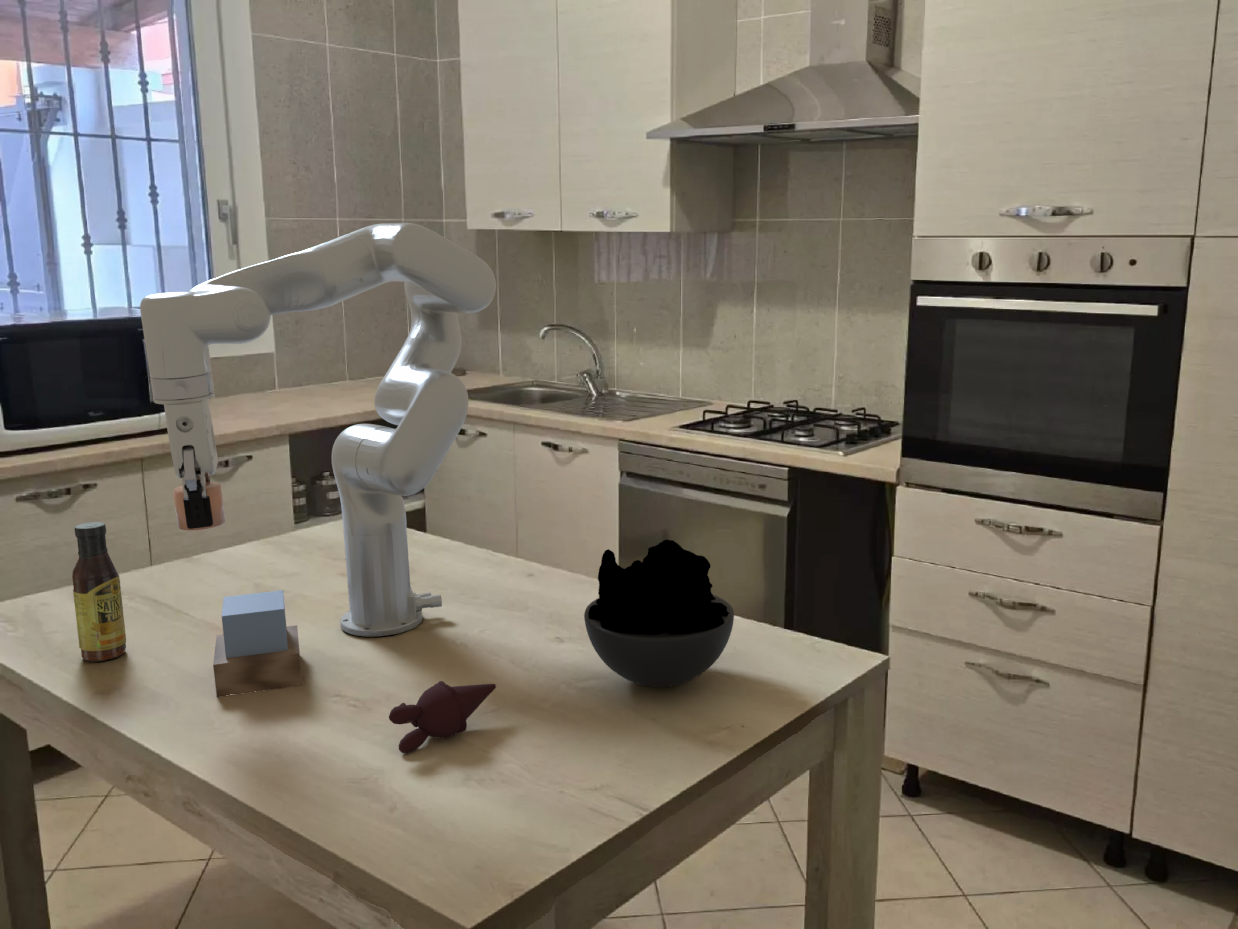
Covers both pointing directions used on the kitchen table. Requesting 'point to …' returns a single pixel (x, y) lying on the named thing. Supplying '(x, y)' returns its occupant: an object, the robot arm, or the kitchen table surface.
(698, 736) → the kitchen table surface
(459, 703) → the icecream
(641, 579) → the coal bowl
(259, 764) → the kitchen table surface
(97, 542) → the sauce bottle
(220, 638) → the tower base
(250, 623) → the tower middle
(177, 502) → the terracotta cylinder
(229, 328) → the robot arm
